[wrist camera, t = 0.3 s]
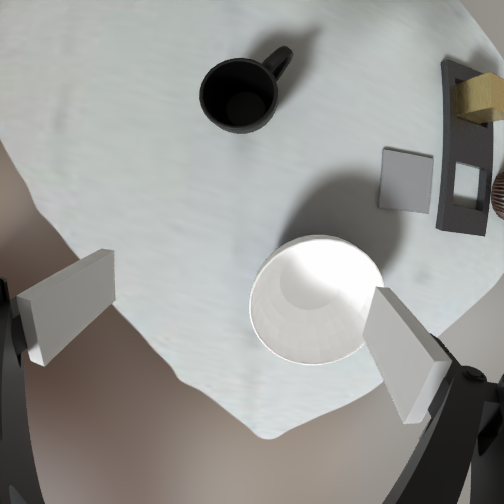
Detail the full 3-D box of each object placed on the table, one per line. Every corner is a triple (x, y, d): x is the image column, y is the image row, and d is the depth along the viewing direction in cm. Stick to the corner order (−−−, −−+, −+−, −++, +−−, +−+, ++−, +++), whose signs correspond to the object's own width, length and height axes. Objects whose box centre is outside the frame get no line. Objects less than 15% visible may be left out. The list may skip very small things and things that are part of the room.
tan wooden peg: (452, 86, 34) (489, 71, 24) (476, 94, 34) (513, 84, 24) (453, 115, 35) (492, 107, 26) (477, 123, 35) (516, 118, 26)
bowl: (286, 202, 41) (290, 211, 31) (383, 255, 42) (410, 277, 32) (235, 302, 45) (225, 334, 36) (328, 343, 46) (339, 381, 36)
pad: (382, 149, 38) (384, 149, 37) (431, 158, 37) (433, 158, 37) (377, 207, 40) (379, 207, 39) (426, 213, 40) (428, 213, 39)
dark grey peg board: (440, 62, 33) (446, 59, 31) (483, 79, 33) (490, 76, 31) (435, 228, 40) (441, 230, 38) (478, 233, 40) (484, 236, 38)
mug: (310, 92, 37) (320, 71, 27) (245, 152, 39) (237, 146, 30) (266, 53, 36) (264, 23, 26) (202, 111, 38) (183, 95, 29)
